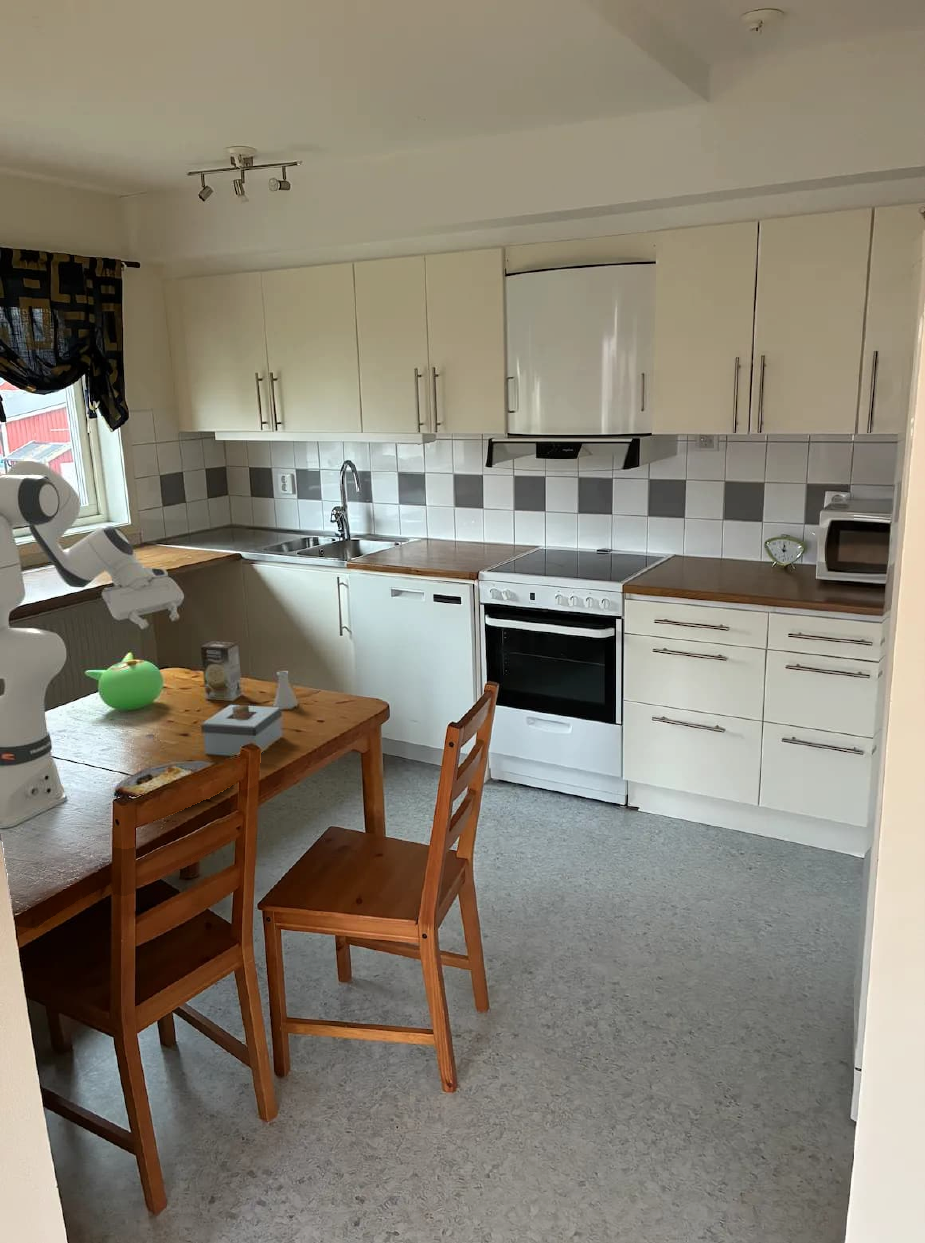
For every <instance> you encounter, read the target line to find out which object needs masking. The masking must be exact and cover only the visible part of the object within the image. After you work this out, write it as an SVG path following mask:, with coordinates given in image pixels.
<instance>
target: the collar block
mask: <svg viewBox="0 0 925 1243" xmlns="http://www.w3.org/2000/svg"><path fill="white" fill-rule="evenodd" d="M235 706H240V704H229V705H228V706H227V707H225V708H223V709H222V710H220V711H219V712H217V713H215V714H214V715H213V716H211V717H209V718H208V719H206V720H205V721H204V722H201V725H200V729H201V733H202V734H203V742H204V743H203V744H204V752H205V755H217V756H232V757H235V756H234V755H237V754H238V753H239V751H240V749H242V746H243V745H246V744H249V743H255V744H257V745H258V746H260V748H261V749H262V752H263V749H265V748H266V747H267V746H268V745H270V744H271V743H272V742H273V741H276V740H277V738H278V737H281V736H282V737H283V729H282V716H283V714H282V710H281V709H280V708H279V707H273V706H260V705H248V706H249V714H250V718H249V719H247V720H242V719H233V710H232V708H233V707H235ZM263 753H264V752H263Z"/></svg>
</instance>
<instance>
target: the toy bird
mask: <svg viewBox="0 0 925 1243" xmlns="http://www.w3.org/2000/svg"><path fill="white" fill-rule="evenodd" d="M133 656H134V655H133V653H132V652H128V653H127V654H126V655H125V656H124V657H123V659H122V661H120V662H117V663H114V664H113V665H111V666H110V667H109V668H107V669H92V670H91V669H90V670H86V671H85V672H84V674H85V675H86V676H87V677H90V678H92V679H94V680H96V681H98V684H97V692H98V695H99V697H100V699H101V700H102V701H103V703H104V704H105V705H106V706H108V707H110V708H112V709H114V710H118V711H133V710H137V709H138V710H139V709H141V708H143V707H144V708H145V707H146V706H149V705H150V704H151V703H153V702H154V701H156V699H158V697H159V696H160V694H161V693H162V691H163V687H164V678H163V674H162V672H161V670H160V669H159V668H158V666H156V665H155V664H154V663H152V662H150V661H147V660H143V659H134V657H133Z"/></svg>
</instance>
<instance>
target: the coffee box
mask: <svg viewBox="0 0 925 1243" xmlns="http://www.w3.org/2000/svg"><path fill="white" fill-rule="evenodd" d="M200 652H201V663H202V664H201V665H202V673H203V684H204V692H205V699H207V700H213V701H214V700H217V701H227V702H233V701H235V700H236V699H237V698H239V697H241V696H243V690H242V689H243V686H242V679H241V678H242V677H241V666H240V664H241V663H240V653H239V643H238V642H229V641H217V640H211V641H209V642H207V643H205V644H203V645H200Z"/></svg>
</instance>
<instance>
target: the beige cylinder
mask: <svg viewBox="0 0 925 1243" xmlns="http://www.w3.org/2000/svg"><path fill="white" fill-rule="evenodd" d="M239 705H240V704H239ZM249 706H250V705H243V704H242V705H240V706H235V707H233V708H232V710H233V719H242V720H247V719H249V718H250V714H249Z"/></svg>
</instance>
